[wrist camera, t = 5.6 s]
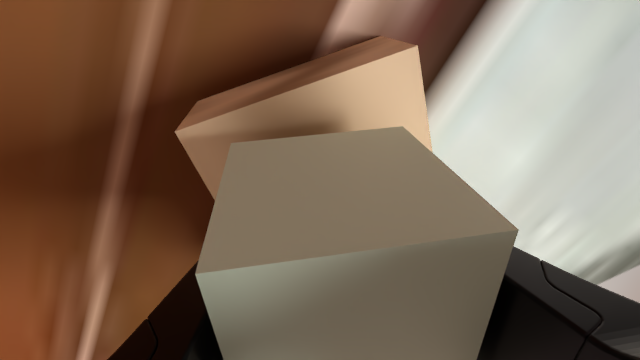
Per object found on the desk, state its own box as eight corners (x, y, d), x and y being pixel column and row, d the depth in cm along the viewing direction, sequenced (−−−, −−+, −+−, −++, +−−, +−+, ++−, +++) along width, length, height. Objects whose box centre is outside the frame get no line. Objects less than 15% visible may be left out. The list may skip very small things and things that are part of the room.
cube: (402, 126, 9) (518, 230, 5) (392, 254, 12) (463, 398, 7) (231, 143, 9) (194, 274, 5) (257, 273, 11) (249, 438, 7)
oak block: (378, 35, 13) (417, 45, 10) (408, 189, 17) (443, 235, 14) (198, 99, 13) (174, 131, 10) (269, 236, 17) (270, 294, 14)
